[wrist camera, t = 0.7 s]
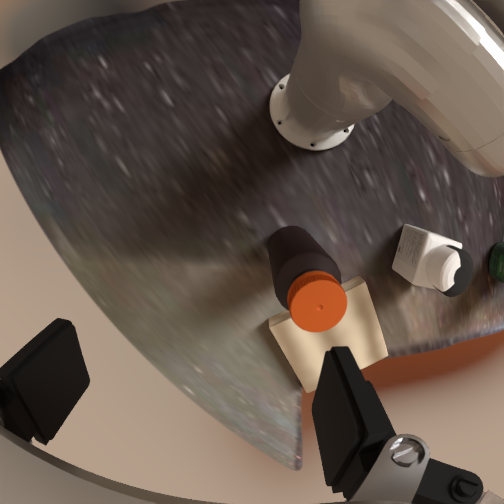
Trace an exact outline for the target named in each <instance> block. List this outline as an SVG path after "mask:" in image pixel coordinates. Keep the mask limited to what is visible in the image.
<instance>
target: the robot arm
mask: <svg viewBox="0 0 504 504" xmlns="http://www.w3.org/2000/svg"><path fill="white" fill-rule="evenodd" d="M473 1H474V2H475V3H476V4H477V5H478V6H479V7H480V8H481V9H482V10H483V11H484V12H485V13H486V14H487V15H488V16H489V17H490V19H491V20H492V21H493V22H494V23H495V24H496V25H497V26H498V28H499V29H500V30H501V31H502V33H503V34H504V0H473ZM300 22H301V30H302V36H301V41H300V45H299V48H298V51H297V54H296V58H295V61H294V64H293V67H292V70H291V73H290V74H288V75H286V76H285V77H284V78H282V79H281V80H280V81H279V82H278V83H277V85H276V86H275V88H274V90H273V92H272V95H271V98H270V115H271V119H272V121H273V124H274V126H275V128H276V129H277V130H278V132H279V133H280V134H281V135H282V136H283V137H284V138H285V139H286V140H287V141H289V142H290V143H292V144H293V145H295V146H297V147H300V148H303V149H307V150H314V151H320V150H327V149H330V148H333V147H335V146H337V145H339V144H340V143H342V142H343V141H344V140H345V139H346V138H347V137H348V136H349V135H350V133H351V131H352V130H353V127H354V124H356V123H358V122H360V121H362V120H364V119H366V118H368V117H369V116H371V115H373V114H375V113H377V112H379V111H381V110H382V109H383V108H385V107H386V106H387V105H388V104H389V103H390V101H391V100H392V99H393V100H394V101H395V102H397V103H398V104H399V105H401V106H403V107H404V108H405V109H406V110H408V111H409V112H410V113H411V114H412V115H413V116H414V117H415V118H417V119H418V120H419V121H420V122H421V123H422V124H423V125H424V126H425V127H426V128H427V129H428V130H429V131H430V132H431V133H432V134H433V135H434V136H435V137H436V138H437V139H438V140H439V141H440V142H441V143H442V144H443V145H444V146H445V147H446V148H447V149H448V150H449V151H450V152H451V154H452V155H453V156H454V157H455V158H456V159H457V160H458V161H459V162H460V163H462V164H463V165H464V166H465V167H466V168H468V169H469V170H470V171H472V172H474V173H476V174H478V175H481V176H485V177H500V176H504V38H503V37H502V36H501V34H500V33H499V32H498V31H497V30H496V28H495V27H494V26H493V25H492V24H491V23H490V22H489V21H488V20H487V19H486V18H485V16H484V15H483V14H482V12H481V11H480V10H479V9H478V8H477V7H476V6H474V4H473V3H471V2H470V0H300ZM280 87H282V88H283V89H282V90H281V89H280ZM278 122H281V125H279V124H278ZM343 130H345V131H346V132H344V131H343ZM311 143H312V144H313V145H314V146H313V147H312V146H311V145H310V144H311ZM89 383H90V378H89V375H88V371H87V368H86V365H85V362H84V359H83V355H82V352H81V348H80V345H79V341H78V337H77V333H76V329H75V327H74V325H72V322H71V321H69V320H65V319H61V318H57V319H56V320H54V321H53V322H52V323H51V324H49V325H48V326H47V327H46V328H45V329H44V330H42V331H41V332H40V333H39V334H38V335H36V336H35V337H34V338H33V339H32V340H31V341H29V342H28V343H27V344H26V345H25V346H24V347H23V348H22V349H20V351H18V352H17V353H16V354H15V355H14V356H13V357H12V358H11V359H9V361H7V362H6V363H5V364H4V365H3V366H2V367H1V368H0V504H224V503H214V502H206V501H199V500H192V499H186V498H179V497H175V496H169V495H165V494H160V493H155V492H151V491H148V490H144V489H140V488H136V487H133V486H129V485H126V484H123V483H119V482H116V481H113V480H110V479H107V478H105V477H102V476H99V475H96V474H94V473H91V472H88V471H86V470H83V469H81V468H78V467H76V466H74V465H72V464H69V463H67V462H65V461H63V460H60V459H59V458H56V457H54V456H53V455H50V454H48V453H47V452H45V451H42V450H41V449H39V448H37V447H35V446H34V445H32V440H31V439H32V437H33V436H34V438H35V439H36V440H37V441H39V442H40V443H42V444H44V445H47V443H48V442H49V440H52V439H53V438H54V436H55V435H56V433H57V432H58V430H59V429H60V427H61V426H62V424H63V423H64V421H65V420H66V418H67V416H68V415H69V414H70V412H71V411H72V409H73V408H74V406H75V405H76V403H77V402H78V400H79V399H80V398H81V396H82V395H83V393H84V392H85V390H86V389H87V388H88V386H89ZM312 415H313V420H314V425H315V430H316V435H317V440H318V445H319V450H320V455H321V460H322V466H323V471H324V476H325V481H326V485H327V486H332V491H333V493H338V492H343V496H344V498H346V500H345V502H334V503H321V504H504V499H502V498H501V497H499V496H497V495H496V494H494V493H493V492H491V491H490V490H488V491H487V492H486V493H485V492H484V491H483V484H482V481H481V479H480V478H479V477H478V476H477V475H476V474H474V473H472V472H470V471H466V470H463V469H460V468H457V467H454V466H451V465H448V464H445V463H442V462H440V461H437V460H434V459H431V458H429V455H430V452H429V447H428V446H427V444H426V443H425V442H424V441H423V440H422V439H421V438H419V437H417V436H415V435H410V434H400V435H396V433H395V431H394V429H393V427H392V425H391V422H390V420H389V418H388V416H387V414H386V412H385V410H384V408H383V406H382V404H381V402H380V399H379V397H378V395H377V393H376V391H375V389H374V387H373V385H372V384H371V382H370V381H365V379H364V377H363V375H362V372H361V371H360V368H359V366H358V364H357V362H356V360H355V358H354V356H353V354H352V352H351V350H350V348H349V347H348V346H333V347H331V349H330V351H326V352H325V355H324V360H323V364H322V368H321V372H320V376H319V380H318V384H317V388H316V392H315V396H314V400H313V403H312Z"/></svg>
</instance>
